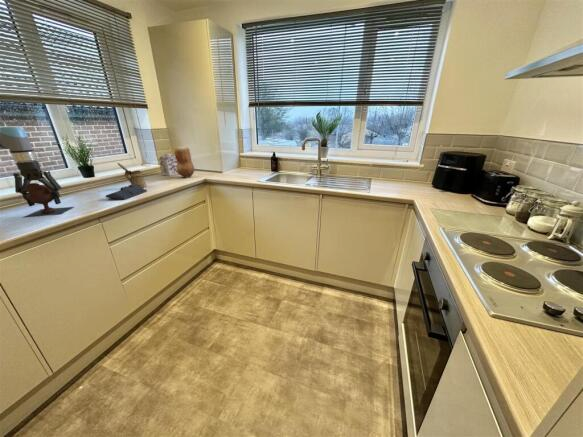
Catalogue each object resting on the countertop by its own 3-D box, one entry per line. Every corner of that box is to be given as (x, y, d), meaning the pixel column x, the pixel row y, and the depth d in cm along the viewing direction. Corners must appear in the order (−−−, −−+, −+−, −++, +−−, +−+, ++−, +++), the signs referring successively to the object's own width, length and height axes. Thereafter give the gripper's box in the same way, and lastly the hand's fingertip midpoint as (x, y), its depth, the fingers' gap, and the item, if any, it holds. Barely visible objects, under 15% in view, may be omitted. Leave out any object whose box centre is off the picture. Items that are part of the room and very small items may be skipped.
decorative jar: (169, 176, 203) (164, 154, 197) (161, 175, 209) (156, 153, 202) (181, 173, 213) (177, 153, 206) (174, 172, 219) (170, 152, 212)
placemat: (19, 219, 116) (19, 218, 116) (41, 209, 129) (41, 209, 129) (57, 216, 119) (57, 215, 119) (74, 207, 132) (74, 206, 132)
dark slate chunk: (101, 199, 143) (99, 192, 142) (129, 190, 164) (127, 183, 162) (124, 200, 141) (122, 192, 140) (149, 190, 162) (148, 183, 160)
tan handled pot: (125, 187, 171) (117, 161, 164) (146, 184, 177) (140, 160, 170) (124, 190, 164) (116, 163, 157) (146, 187, 170) (140, 161, 163)
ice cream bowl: (49, 214, 119) (36, 185, 113) (27, 214, 119) (13, 185, 113) (67, 207, 129) (56, 180, 123) (47, 207, 129) (35, 180, 123)
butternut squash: (175, 177, 198) (168, 146, 188) (189, 174, 208) (184, 144, 199) (185, 179, 190) (178, 147, 181) (199, 176, 201) (194, 145, 191)
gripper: (59, 158, 120) (75, 200, 128) (4, 161, 116) (24, 204, 124) (49, 161, 113) (66, 204, 121) (-11, 163, 109) (12, 209, 117)
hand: (45, 204), depth 123 cm, fingers closed on ice cream bowl, 11 cm apart
